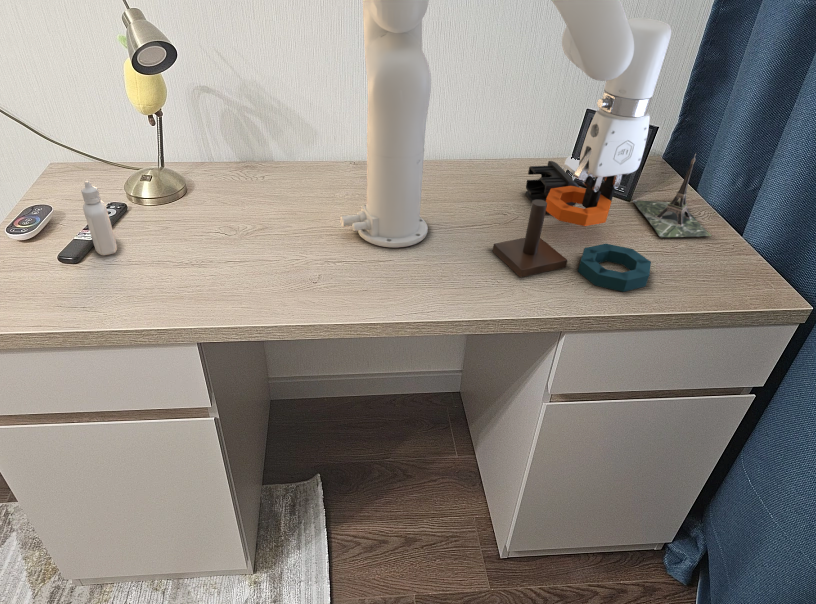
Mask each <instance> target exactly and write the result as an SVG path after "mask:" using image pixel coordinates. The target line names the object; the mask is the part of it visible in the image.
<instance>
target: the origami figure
mask: <svg viewBox="0 0 816 604" xmlns="http://www.w3.org/2000/svg"><path fill="white" fill-rule="evenodd" d="M572 154H573V153H572ZM572 154H570V155H569V156H568V157H566V158H565V160H564V162H563V166H561V168H562V169H563V170H564V169H566V170H567V171H568V170H569V171H570V174H571V175H572V177H571V178H572V179H573V180H574V181H575V179H576V177H575V176H574V173H575V172H576V170H577V168H578V167H579V160H577V159H576V160H575V159H574V158H572V159H571V157H572ZM594 177H595V176H594ZM582 184H584V182H583V181H582Z"/></svg>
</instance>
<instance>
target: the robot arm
mask: <svg viewBox="0 0 816 604" xmlns="http://www.w3.org/2000/svg"><path fill="white" fill-rule="evenodd" d="M551 2H552V3H553V5H554V6H555V8H556V9H557V11H558V12H559V14H560V16H561V17H562V19H563V21H564V23H565V28H564V30H563V33H562V36H561V47H562V51H563V53H564V55H565V57H566V58H567V59H568V61H570V62H571V63H572V64H573V65H575V66H576V67H577V68H578V69H580V70H581V71H582V72H583V73H584V74H585V75H586V76H587V77H589V78H590V79H592V80H594V81H599V82H605V85H604V88H603V93H602V96H601V98H599V99H598V100H597V102H596V105H597V108H598V110H596V111H595V113H594V115H593V118H592V119H591V122H590V125H589V127H588V129H587V132H586V135H585V138H584V141H583V144H582V146H581V147H582V148H581V151H580V155H579V158H580V160H579V167H578V168H577V170H576V172H575V173H574V174H573V176H575V178H577V179H578V180H580V181H582V182H584V183H583V185H584V186H585V187H586V188H585V189H586V191H585V195H584V198H583V202H582V204H581V206H582V207H584V209H585V208H591V207H597V203H598V201H599V198H600V194H601V195H603V196H604V197H606V198H607V199H609V200H610V201H613V198H614V194H615V191H616V189H618V188H619V187H620V185H621V182H622V181H623V180H624V179H625V178H626V177H627V176H629V175H630V174H632V173H635V172H636V171H637V170H638V169H639V168H640V165H641V163H642V160H643V155H644V152H645V148H646V144H647V139H648V134H649V129H650V128H649V127H650V118H651V115H650V113H649V109H650V105H651V102H652V99H653V95H654V92H655V89H656V85H657V82H658V79H659V76H660V72H661V70H662V67H663V64H664V60H665V56H666V54H667V50H668V48H669V44H670V41H671V37H672V28H671V25H670V24H669V23H667V22H665V21H663V20H659V19H656V18H648V17H631V18H628V17H627V14H626V11H625V9H624V6H623V3H622V0H551ZM429 3H430V0H362V19H363V42H364V44H363V45H364V60H365V70H366V78H367V112H366V113H367V115H366V116H367V117H366V118H367V119H366V204H364V205H361V206H360V209H361V210H360V211H357V212H356V214H346V215H341V216H340V218H339V222H340V223H339V224H340V226H341V227H342V228H346V227H351V228H352V231H353V232H357V233H358V235H359V236H360V237H361V239H363V240H365V241H366V242H368V243H369V244H372V245H375V246H378V247H384V248H405V247H410V246H414V245H416V244H418V243H420V242H421V241H423V240H424V239H425V238H426V237H427V235H428V227H429V226H428V223H427V222H426V221H425V219H424V218H422V216H421V206H422V205H421V203H422V192H423V190H422V189H423V176H424V160H425V146H426V145H425V143H426V140H425V139H426V130H427V121H428V120H427V119H428V113H429V112H428V111H429V106H430V101H431V100H430V99H431V93H432V75H431V70H430V66H429V62H428V60H427V57H426V55H425V53H424V51H423V19H424V17H425V15H426V13H427V10H428V7H429ZM594 176H595V180H594V179H593V177H594ZM603 179H604V180H603Z"/></svg>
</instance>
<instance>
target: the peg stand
mask: <svg viewBox="0 0 816 604" xmlns="http://www.w3.org/2000/svg"><path fill="white" fill-rule="evenodd" d="M546 208H547V202H546V201H543V200H533V201H532V202H531V206H530V211H529V217H528V221H527V227H526V231H525V237H521V238H516V239H511V240H506V241H505V240H504V241H501V242H495V243H493V244H492V252H493V254H495V255H496V256H497V257H498V258H499V259H500V260H501V261H502V262H503V263H504V264H506V266H507V267H508V268H510V269H511V270H512V271H513V272H514V273H515V274H516V275H517V276H518V277H519V278H525V277H529V276H533V275H538V274H543V273H546V272H547V273H548V272H551V271H555V270H561V269H565V268H567V264H568V259H567V258H566V257H565V256H564V255H563V254H561V253H560V252H559V251H557V249H555V248H554V247H552V246H551V245H550V244H549V243H548V242H547V241H545V240H544V239H542V238H541V236H542V232H543V226H544V221H545V217H546V214H545V213H546Z"/></svg>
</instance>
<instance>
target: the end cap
mask: <svg viewBox="0 0 816 604" xmlns="http://www.w3.org/2000/svg"><path fill="white" fill-rule="evenodd" d="M527 175H529V176H530V175H540V177H539V178H538V179H537V178H536V179H526V183H525V189H526V191H525V195H524V196H526V198H527V199H528V200H529V201H530V203H532V201H533V200H543V201H546V198H547V196H548V194H549V192H550V190H551V189H552V188H559V187H566V186H575V187H580V185H579V184H578V183H577V182H576V181H575V179H574V180H573V179H572V178H573V177H572V176H571V175H570V174H569V173H568V172H566V171H565V170H564V169H562V166H561V165H560V164H558V163H557V162H555V161H553V160H548V161H547V165H534V166H533V165H531V166H529V167H528V171H527ZM566 204H567V205H569V206H574V207H575V205H576V204H577V203H573V202H569V203H566ZM545 215H550V214H549V213H548V212H547V211H546V213H545Z"/></svg>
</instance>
